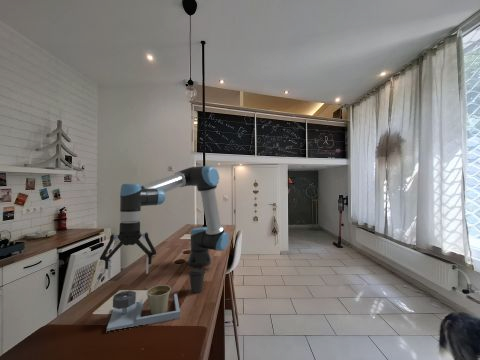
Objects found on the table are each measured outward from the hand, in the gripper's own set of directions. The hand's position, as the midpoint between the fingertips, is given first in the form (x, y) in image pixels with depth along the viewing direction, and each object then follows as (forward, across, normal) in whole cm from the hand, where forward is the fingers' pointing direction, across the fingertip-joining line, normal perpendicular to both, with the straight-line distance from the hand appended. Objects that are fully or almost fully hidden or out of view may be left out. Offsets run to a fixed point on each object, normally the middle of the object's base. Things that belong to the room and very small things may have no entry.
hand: (128, 274), depth 90 cm
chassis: (+15, -7, +3) cm, 17 cm away
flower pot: (+16, -12, +3) cm, 20 cm away
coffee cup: (+15, -29, -10) cm, 35 cm away
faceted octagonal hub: (+10, +1, +3) cm, 10 cm away
